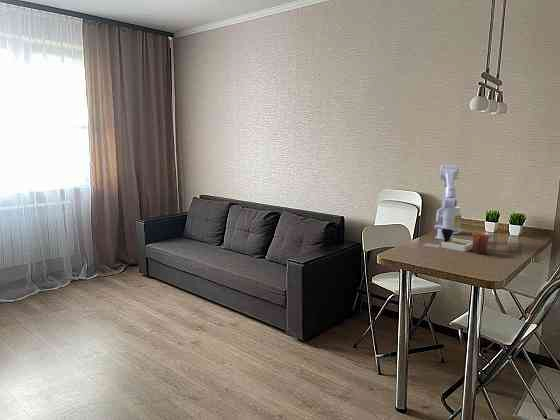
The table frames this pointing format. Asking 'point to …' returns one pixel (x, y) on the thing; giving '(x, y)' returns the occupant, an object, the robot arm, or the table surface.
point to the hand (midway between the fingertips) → (446, 242)
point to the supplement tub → (457, 219)
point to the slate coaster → (432, 245)
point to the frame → (458, 247)
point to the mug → (480, 242)
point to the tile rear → (452, 242)
